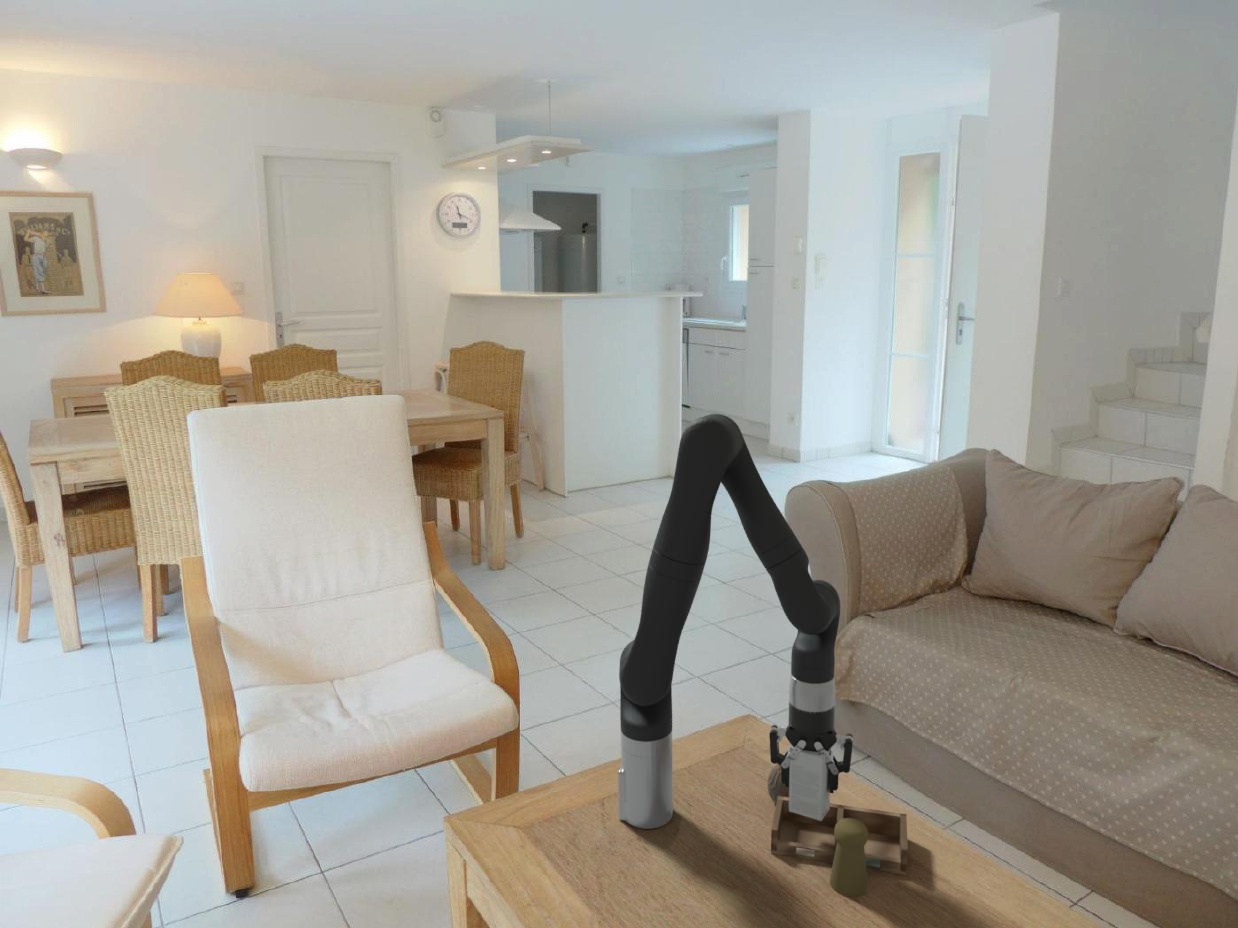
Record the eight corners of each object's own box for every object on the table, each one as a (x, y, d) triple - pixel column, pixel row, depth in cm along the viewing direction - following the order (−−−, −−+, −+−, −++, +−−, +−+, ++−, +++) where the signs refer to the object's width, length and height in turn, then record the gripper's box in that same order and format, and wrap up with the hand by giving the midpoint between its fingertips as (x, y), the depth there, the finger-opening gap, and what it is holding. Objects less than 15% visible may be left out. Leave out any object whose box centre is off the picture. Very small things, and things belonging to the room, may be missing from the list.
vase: (804, 814, 164) (806, 771, 162) (766, 811, 165) (767, 768, 163) (804, 793, 170) (806, 751, 168) (767, 789, 172) (768, 747, 170)
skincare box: (830, 809, 156) (832, 746, 153) (821, 822, 152) (823, 758, 149) (796, 798, 159) (798, 737, 156) (787, 811, 155) (788, 748, 153)
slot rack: (770, 853, 153) (771, 829, 152) (777, 818, 163) (777, 795, 162) (906, 875, 147) (907, 850, 146) (904, 837, 157) (906, 814, 156)
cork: (846, 901, 142) (849, 839, 139) (821, 878, 147) (823, 818, 145) (876, 888, 145) (879, 828, 142) (850, 866, 150) (853, 807, 147)
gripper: (766, 705, 149) (764, 794, 153) (855, 714, 145) (852, 806, 149) (771, 684, 156) (769, 770, 160) (856, 693, 152) (853, 781, 156)
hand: (809, 787), depth 155 cm, fingers closed on skincare box, 7 cm apart
